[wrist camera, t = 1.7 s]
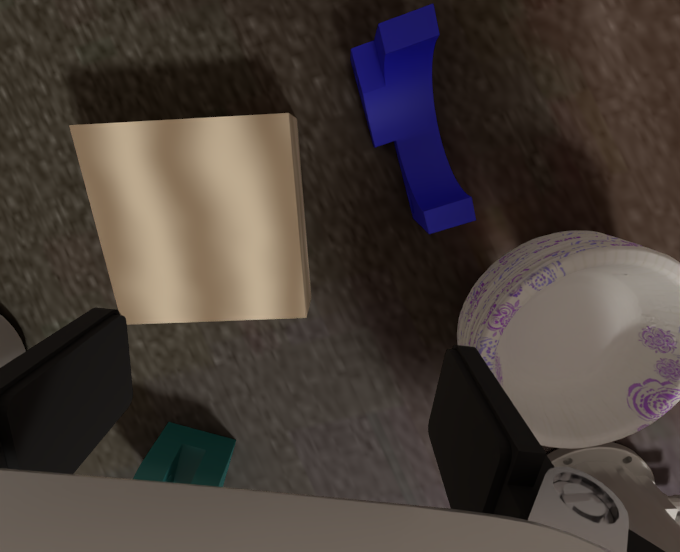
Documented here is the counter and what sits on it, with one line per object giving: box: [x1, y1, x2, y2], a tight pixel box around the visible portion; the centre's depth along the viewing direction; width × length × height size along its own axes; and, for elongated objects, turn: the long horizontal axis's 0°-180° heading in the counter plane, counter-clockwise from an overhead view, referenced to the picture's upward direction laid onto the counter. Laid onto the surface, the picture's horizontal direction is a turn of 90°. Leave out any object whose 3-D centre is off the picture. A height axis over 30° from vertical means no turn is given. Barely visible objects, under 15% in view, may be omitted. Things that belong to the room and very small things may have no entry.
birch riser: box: [69, 113, 311, 324], centre depth 27 cm, size 14×14×4 cm
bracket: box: [133, 422, 236, 487], centre depth 35 cm, size 18×7×8 cm, turn 162°
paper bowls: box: [457, 231, 680, 449], centre depth 27 cm, size 15×15×8 cm
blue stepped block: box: [350, 4, 476, 234], centre depth 24 cm, size 12×4×6 cm, turn 17°
